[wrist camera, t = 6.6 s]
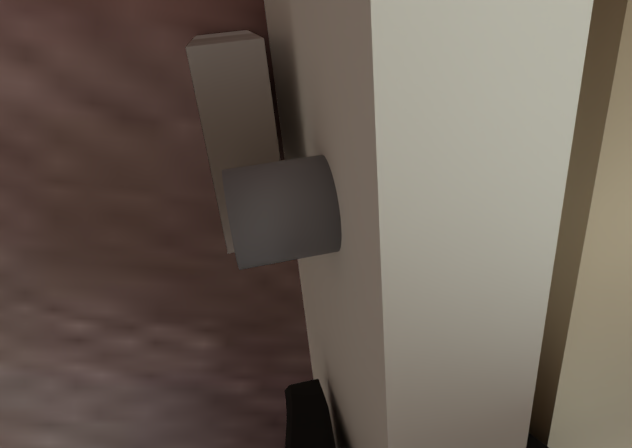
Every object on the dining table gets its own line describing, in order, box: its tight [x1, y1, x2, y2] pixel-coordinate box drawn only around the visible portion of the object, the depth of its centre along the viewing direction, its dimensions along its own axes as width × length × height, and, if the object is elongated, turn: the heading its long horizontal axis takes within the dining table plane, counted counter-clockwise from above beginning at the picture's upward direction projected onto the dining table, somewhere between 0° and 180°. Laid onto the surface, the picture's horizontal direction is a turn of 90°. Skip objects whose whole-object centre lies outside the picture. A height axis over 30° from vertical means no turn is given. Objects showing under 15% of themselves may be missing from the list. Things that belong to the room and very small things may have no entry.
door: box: [222, 0, 594, 448], centre depth 9 cm, size 16×3×7 cm, turn 6°
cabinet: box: [185, 0, 632, 448], centre depth 11 cm, size 20×15×6 cm
